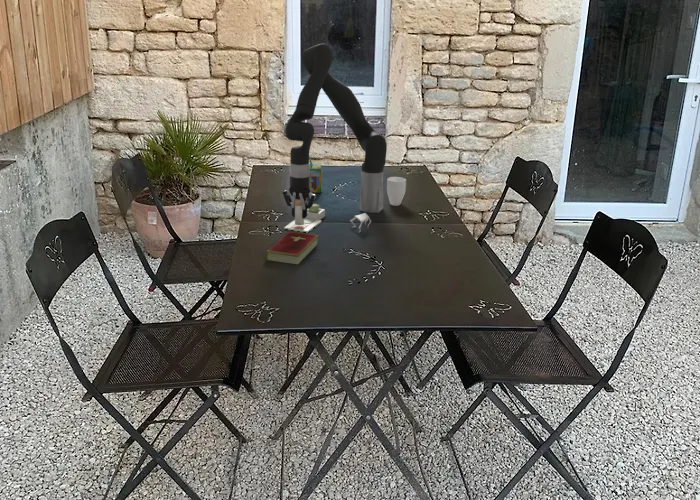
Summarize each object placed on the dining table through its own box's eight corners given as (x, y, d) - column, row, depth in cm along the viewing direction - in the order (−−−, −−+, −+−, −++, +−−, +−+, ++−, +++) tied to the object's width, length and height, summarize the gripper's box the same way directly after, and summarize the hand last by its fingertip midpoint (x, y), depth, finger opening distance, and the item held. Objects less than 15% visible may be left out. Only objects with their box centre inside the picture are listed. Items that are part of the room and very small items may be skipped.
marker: (305, 222, 262) (306, 198, 258) (301, 225, 259) (302, 200, 255) (297, 221, 263) (297, 196, 260) (292, 224, 260) (293, 199, 256)
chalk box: (321, 193, 307) (321, 161, 301) (301, 192, 307) (301, 161, 301) (322, 187, 315) (322, 157, 310) (302, 187, 315) (303, 156, 310)
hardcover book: (265, 261, 231) (265, 250, 230) (288, 241, 250) (288, 230, 248) (298, 266, 228) (298, 254, 227) (318, 245, 247) (318, 234, 245)
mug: (404, 207, 291) (406, 182, 287) (385, 206, 291) (387, 181, 287) (404, 199, 302) (406, 174, 298) (386, 198, 303) (387, 174, 298)
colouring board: (321, 222, 270) (321, 219, 269) (307, 233, 257) (307, 230, 257) (298, 218, 273) (298, 216, 272) (284, 229, 260) (284, 227, 260)
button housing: (324, 216, 277) (324, 209, 275) (318, 221, 270) (318, 214, 269) (309, 213, 279) (309, 207, 278) (302, 218, 273) (302, 211, 271)
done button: (320, 211, 275) (320, 204, 274) (316, 214, 271) (316, 207, 270) (311, 210, 276) (311, 203, 275) (306, 213, 272) (306, 206, 271)
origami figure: (348, 224, 269) (349, 212, 267) (369, 223, 270) (369, 212, 268) (351, 234, 258) (352, 222, 256) (373, 234, 259) (373, 222, 257)
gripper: (320, 174, 255) (319, 217, 261) (286, 169, 259) (287, 212, 266) (312, 179, 248) (312, 222, 255) (278, 174, 253) (278, 217, 259)
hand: (299, 217), depth 260 cm, fingers closed on marker, 3 cm apart
